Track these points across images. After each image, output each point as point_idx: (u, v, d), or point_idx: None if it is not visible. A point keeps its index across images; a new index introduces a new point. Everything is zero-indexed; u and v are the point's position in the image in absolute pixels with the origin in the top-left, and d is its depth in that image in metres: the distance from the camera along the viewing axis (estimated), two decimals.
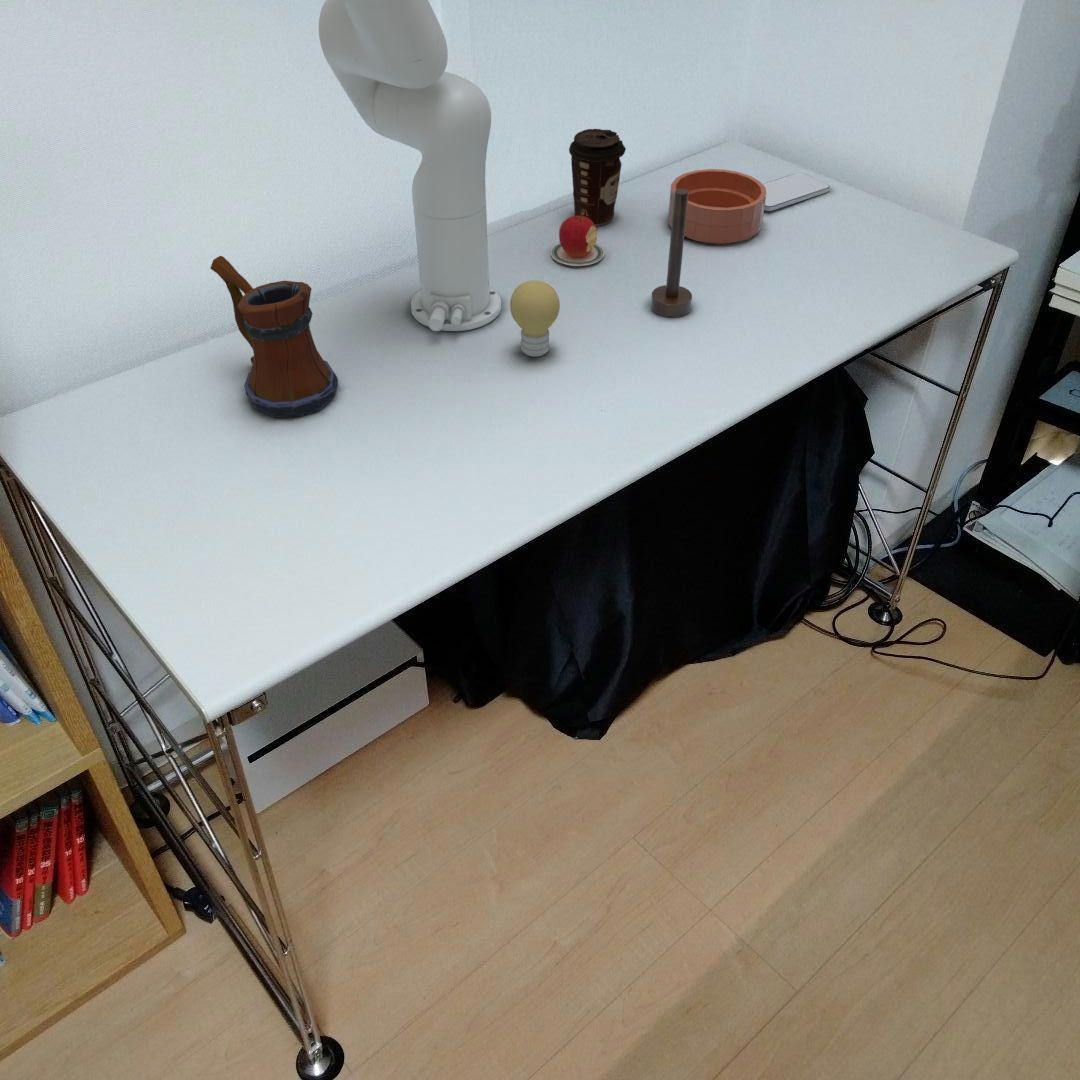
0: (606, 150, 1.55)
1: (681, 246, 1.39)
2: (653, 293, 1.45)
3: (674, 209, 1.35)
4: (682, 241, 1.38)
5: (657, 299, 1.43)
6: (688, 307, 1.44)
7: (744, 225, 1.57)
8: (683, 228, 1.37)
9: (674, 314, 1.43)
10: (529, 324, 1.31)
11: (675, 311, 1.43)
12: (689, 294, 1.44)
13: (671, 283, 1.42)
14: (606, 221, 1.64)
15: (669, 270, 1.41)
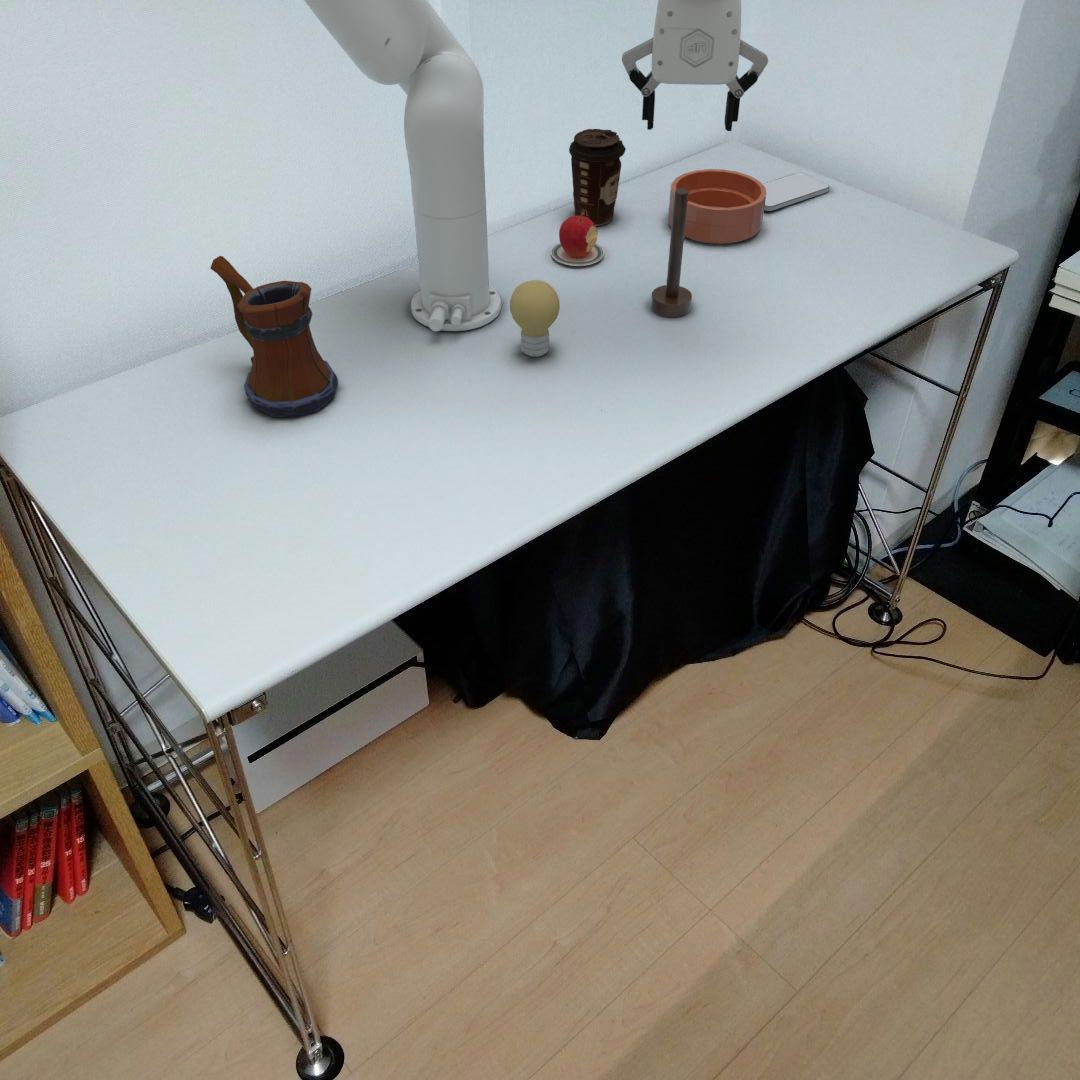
0: (606, 150, 1.55)
1: (681, 246, 1.39)
2: (653, 293, 1.45)
3: (674, 209, 1.35)
4: (682, 241, 1.38)
5: (657, 299, 1.43)
6: (688, 307, 1.44)
7: (744, 225, 1.57)
8: (683, 228, 1.37)
9: (674, 314, 1.43)
10: (529, 324, 1.31)
11: (675, 311, 1.43)
12: (689, 294, 1.44)
13: (671, 283, 1.42)
14: (606, 221, 1.64)
15: (669, 270, 1.41)
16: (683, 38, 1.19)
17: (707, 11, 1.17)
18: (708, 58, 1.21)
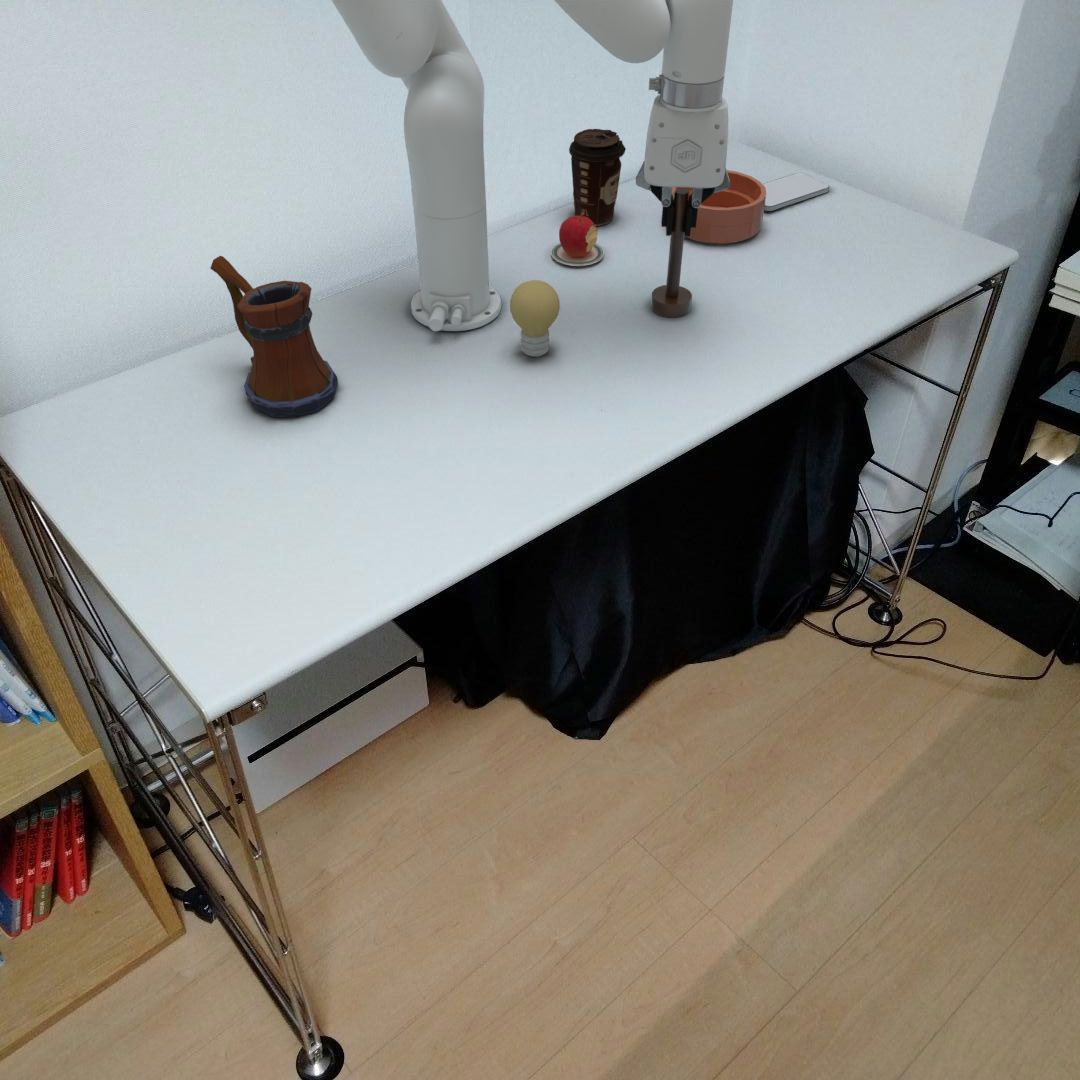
0: (606, 150, 1.55)
1: (681, 246, 1.39)
2: (653, 293, 1.45)
3: (674, 209, 1.35)
4: (681, 241, 1.38)
5: (657, 299, 1.43)
6: (688, 307, 1.44)
7: (744, 225, 1.57)
8: (683, 228, 1.37)
9: (674, 314, 1.43)
10: (529, 324, 1.31)
11: (675, 311, 1.43)
12: (689, 294, 1.44)
13: (671, 283, 1.42)
14: (606, 221, 1.64)
15: (669, 270, 1.41)
16: (674, 147, 1.28)
17: (696, 123, 1.25)
18: (697, 165, 1.29)
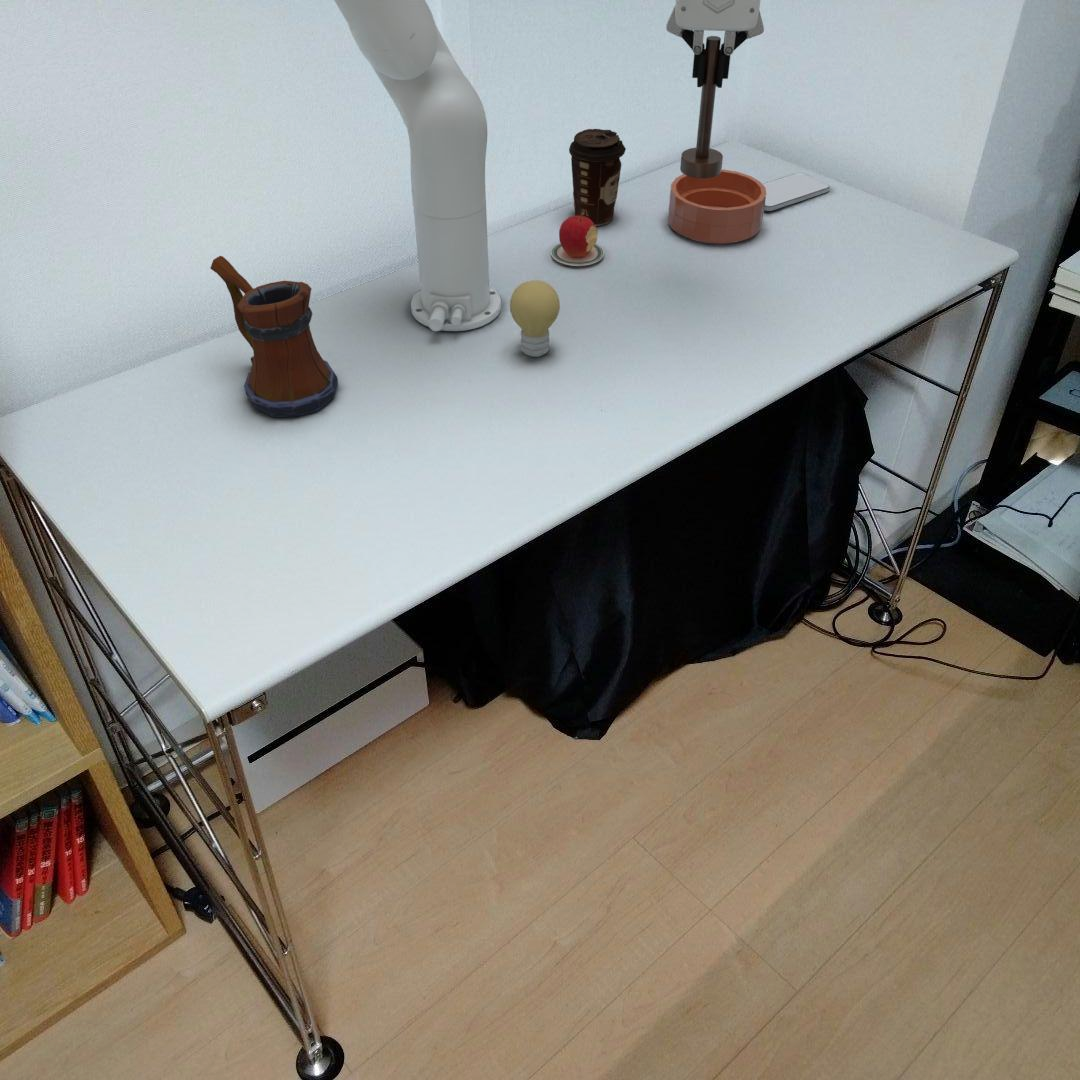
0: (606, 150, 1.55)
1: (712, 100, 1.35)
2: (683, 154, 1.41)
3: None
4: (713, 94, 1.34)
5: (687, 159, 1.40)
6: (719, 168, 1.40)
7: (744, 225, 1.57)
8: (715, 79, 1.33)
9: (704, 175, 1.39)
10: (529, 324, 1.31)
11: (705, 171, 1.39)
12: (720, 155, 1.40)
13: (701, 141, 1.38)
14: (606, 221, 1.64)
15: (700, 127, 1.37)
16: None
17: None
18: (730, 4, 1.25)
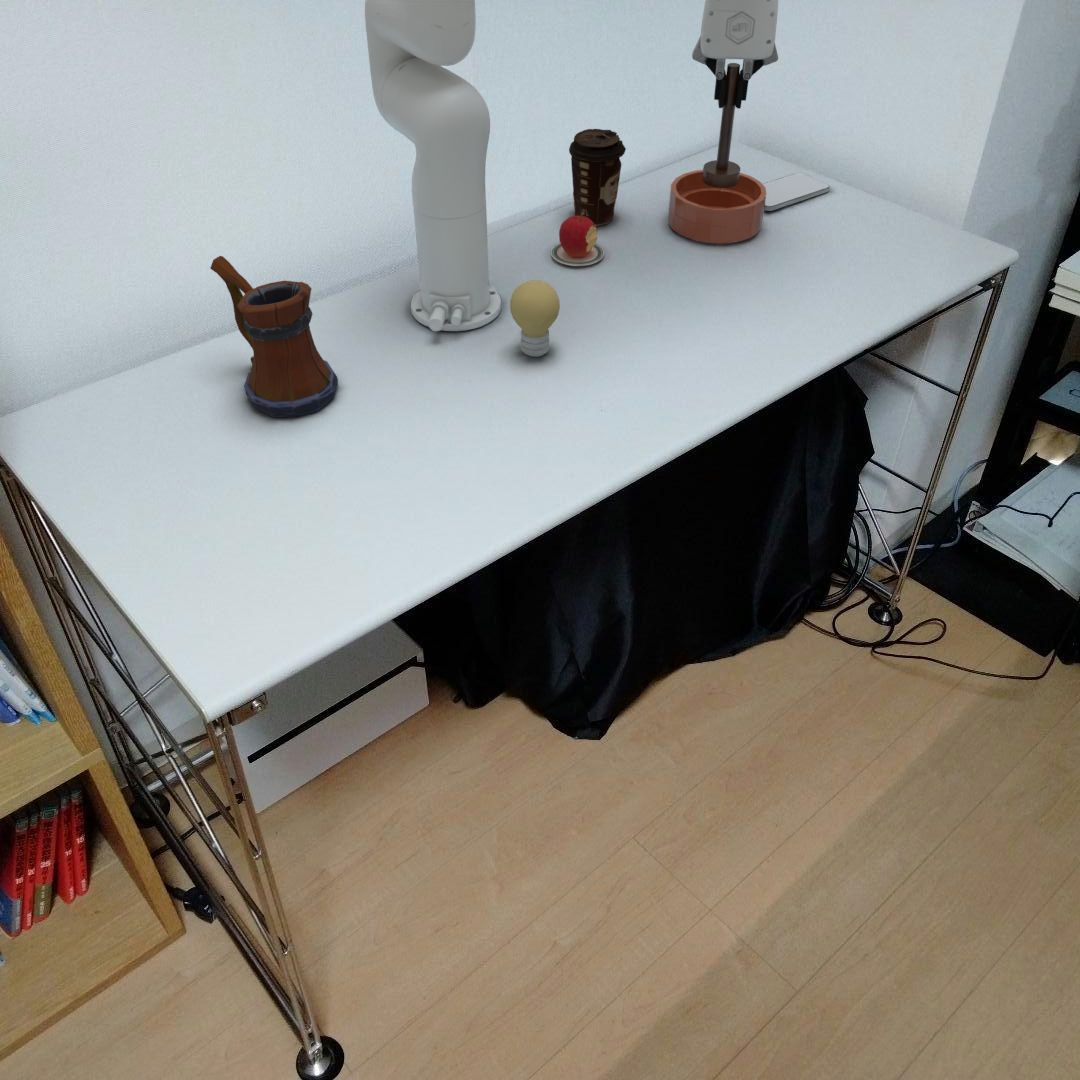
0: (606, 150, 1.55)
1: (732, 118, 1.52)
2: (705, 166, 1.58)
3: None
4: (732, 114, 1.52)
5: (708, 171, 1.57)
6: (737, 178, 1.57)
7: (744, 225, 1.57)
8: (734, 101, 1.51)
9: (724, 185, 1.57)
10: (529, 324, 1.31)
11: (725, 181, 1.57)
12: (737, 167, 1.58)
13: (721, 155, 1.56)
14: (606, 221, 1.64)
15: (720, 142, 1.55)
16: (729, 19, 1.41)
17: None
18: (749, 36, 1.42)
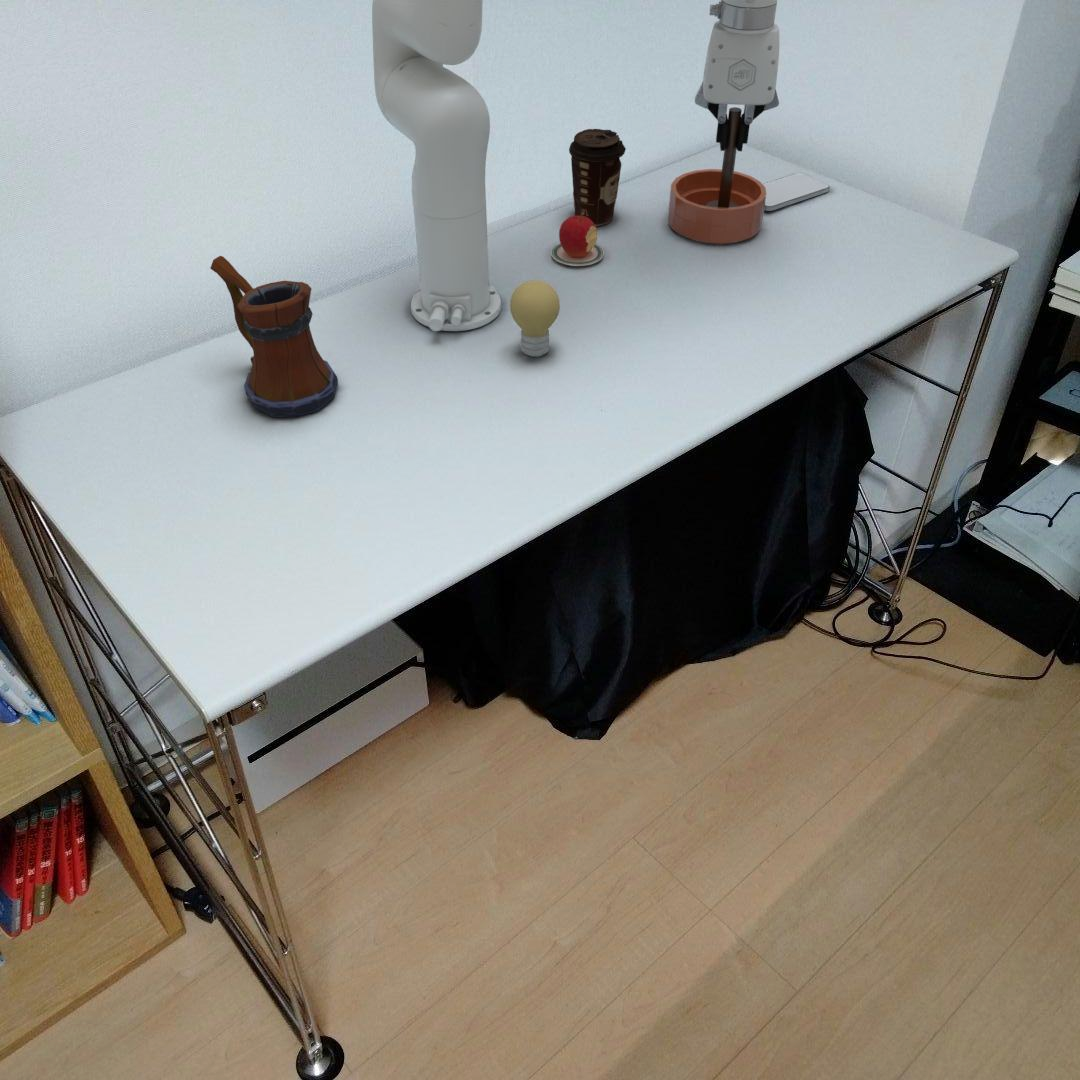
0: (606, 150, 1.55)
1: (733, 161, 1.55)
2: None
3: (728, 126, 1.52)
4: (734, 156, 1.55)
5: None
6: None
7: (744, 225, 1.57)
8: (736, 144, 1.54)
9: None
10: (529, 324, 1.31)
11: None
12: None
13: (723, 195, 1.59)
14: (606, 221, 1.64)
15: (722, 184, 1.58)
16: (731, 66, 1.44)
17: (752, 45, 1.42)
18: (751, 83, 1.46)
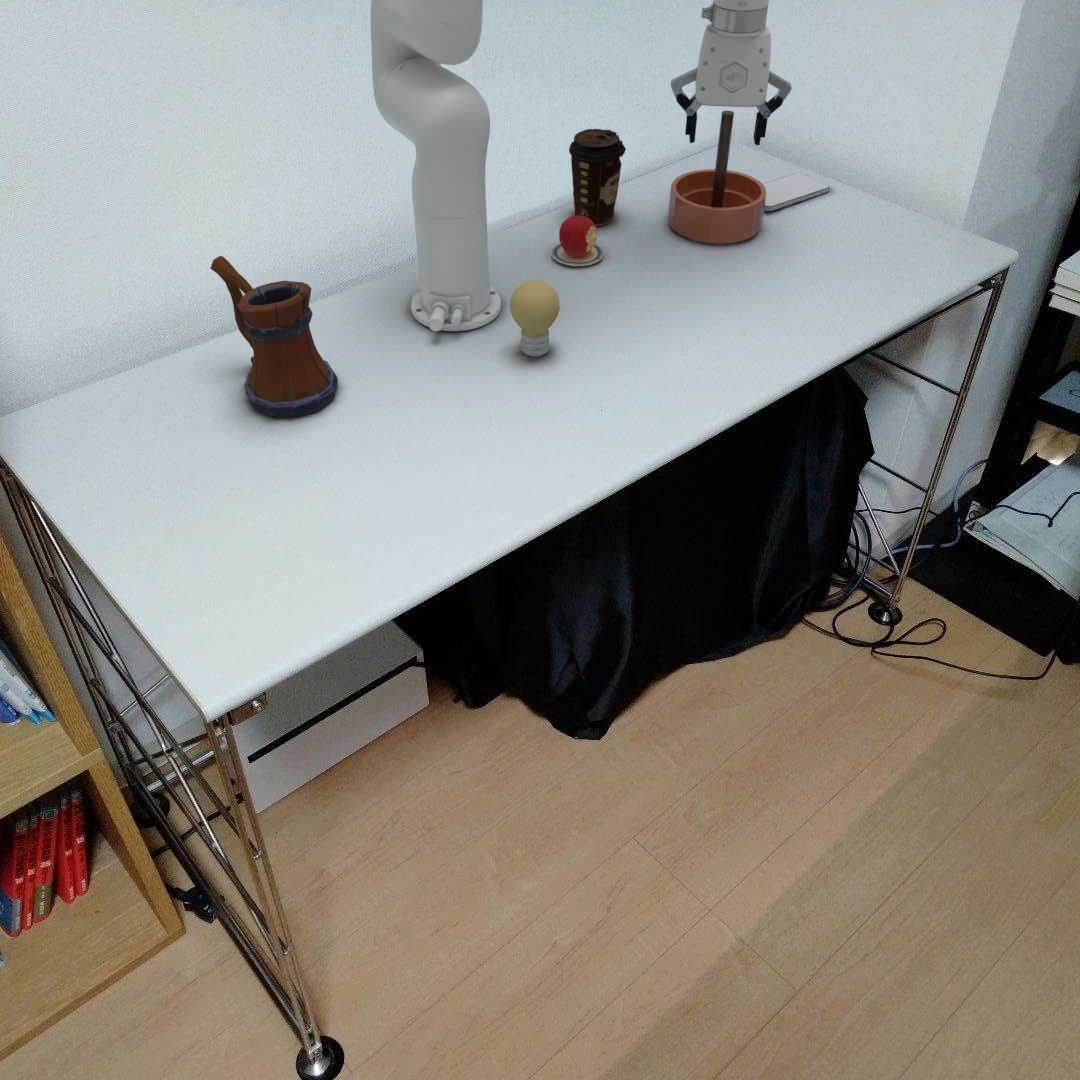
0: (606, 150, 1.55)
1: (726, 163, 1.57)
2: None
3: (721, 129, 1.54)
4: (726, 159, 1.56)
5: None
6: None
7: (744, 225, 1.57)
8: (728, 147, 1.55)
9: None
10: (529, 324, 1.31)
11: None
12: None
13: (716, 198, 1.60)
14: (606, 221, 1.64)
15: (714, 186, 1.59)
16: (722, 69, 1.46)
17: (743, 47, 1.43)
18: (742, 85, 1.47)
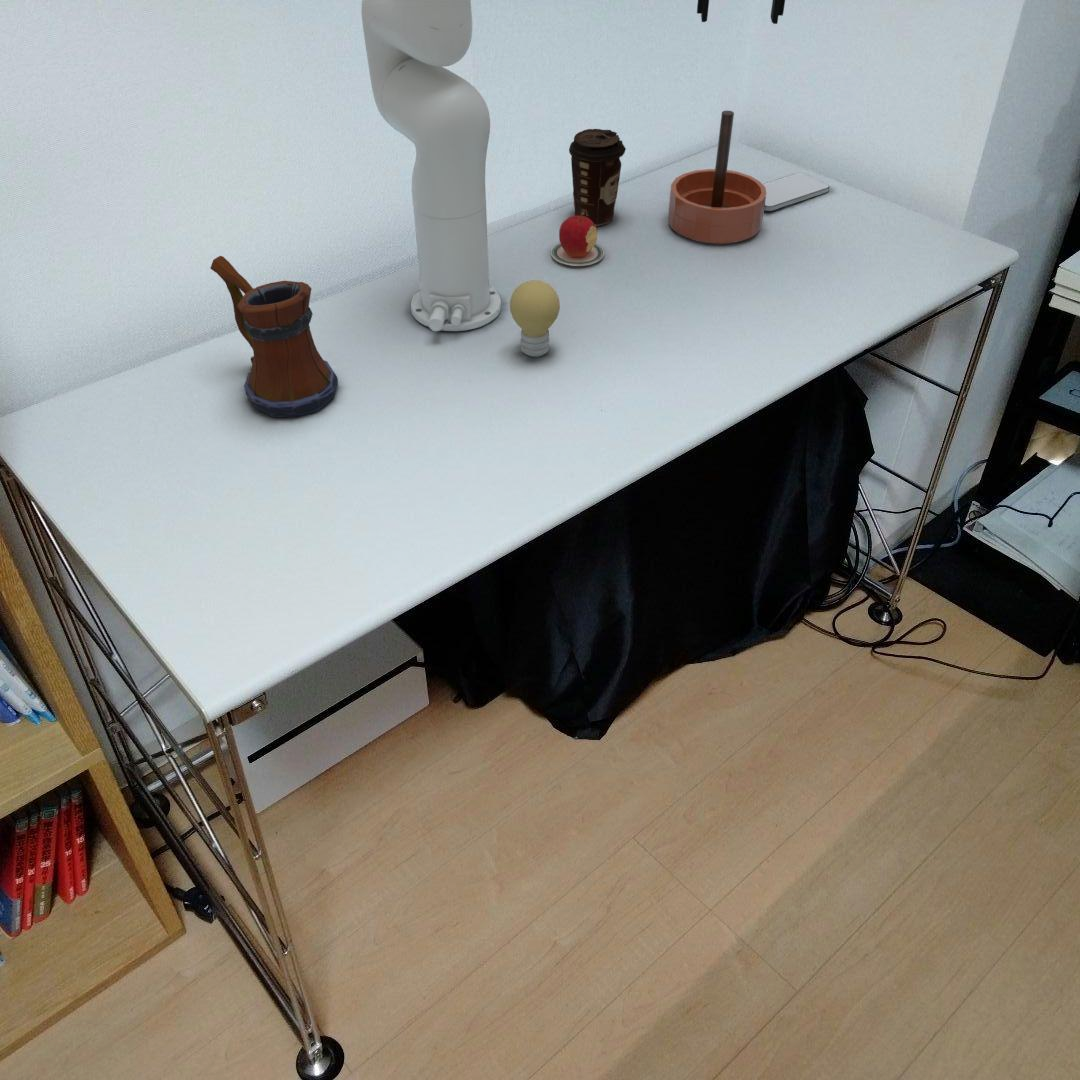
0: (606, 150, 1.55)
1: (726, 163, 1.57)
2: None
3: (721, 129, 1.54)
4: (726, 159, 1.56)
5: None
6: None
7: (744, 225, 1.57)
8: (728, 147, 1.55)
9: None
10: (529, 324, 1.31)
11: None
12: None
13: (716, 198, 1.60)
14: (606, 221, 1.64)
15: (714, 186, 1.59)
16: None
17: None
18: None
